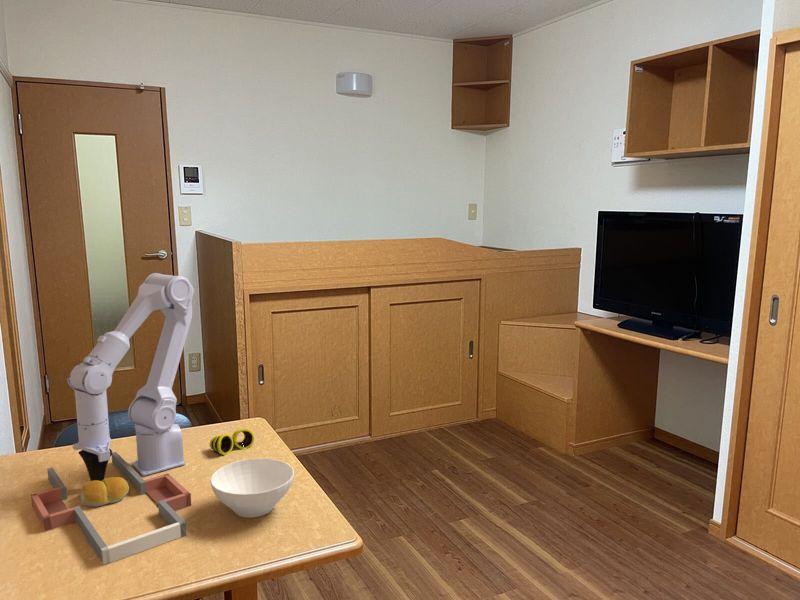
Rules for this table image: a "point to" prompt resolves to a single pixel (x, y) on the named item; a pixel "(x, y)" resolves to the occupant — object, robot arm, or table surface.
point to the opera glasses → (231, 441)
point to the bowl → (252, 485)
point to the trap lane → (57, 515)
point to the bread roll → (103, 491)
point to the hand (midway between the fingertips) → (97, 482)
